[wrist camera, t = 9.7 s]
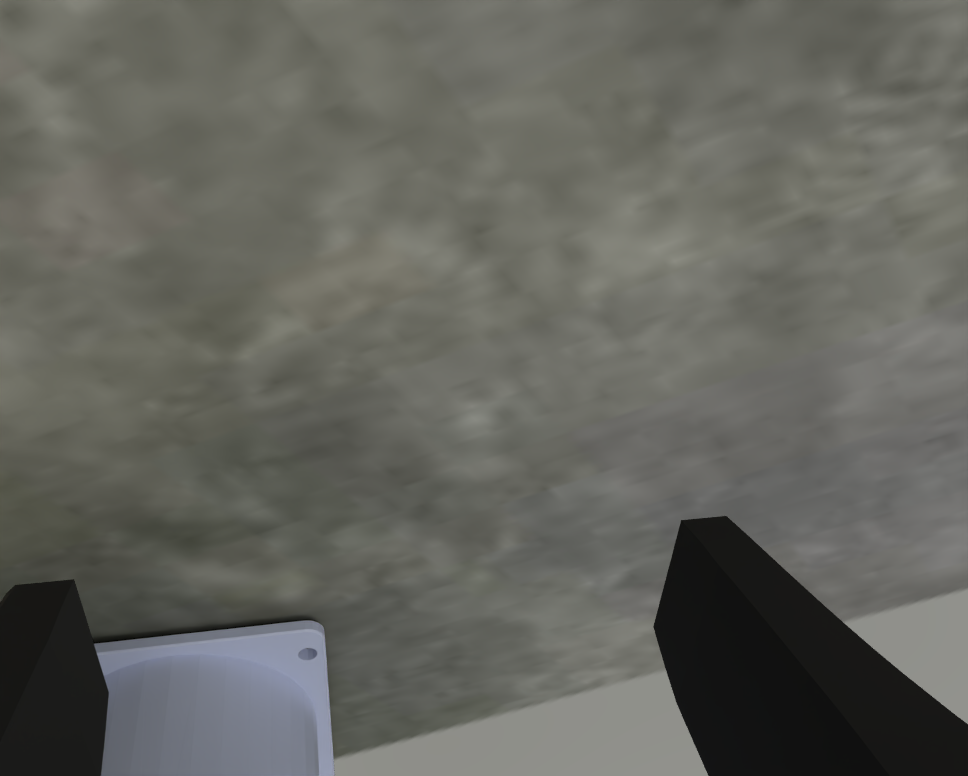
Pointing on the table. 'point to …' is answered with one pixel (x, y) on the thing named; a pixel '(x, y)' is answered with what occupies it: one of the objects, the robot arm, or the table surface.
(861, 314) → the table surface
